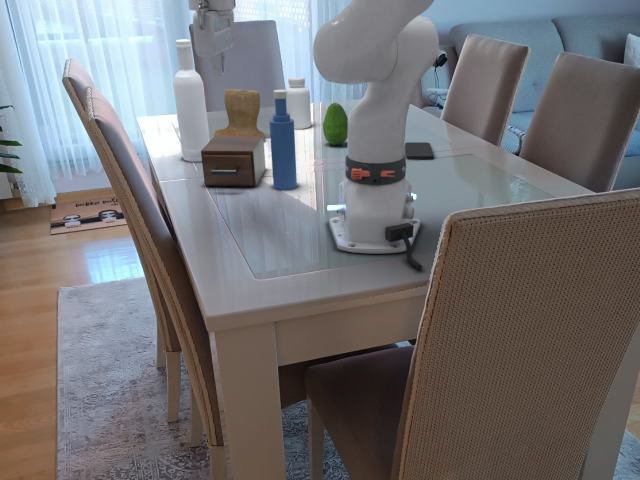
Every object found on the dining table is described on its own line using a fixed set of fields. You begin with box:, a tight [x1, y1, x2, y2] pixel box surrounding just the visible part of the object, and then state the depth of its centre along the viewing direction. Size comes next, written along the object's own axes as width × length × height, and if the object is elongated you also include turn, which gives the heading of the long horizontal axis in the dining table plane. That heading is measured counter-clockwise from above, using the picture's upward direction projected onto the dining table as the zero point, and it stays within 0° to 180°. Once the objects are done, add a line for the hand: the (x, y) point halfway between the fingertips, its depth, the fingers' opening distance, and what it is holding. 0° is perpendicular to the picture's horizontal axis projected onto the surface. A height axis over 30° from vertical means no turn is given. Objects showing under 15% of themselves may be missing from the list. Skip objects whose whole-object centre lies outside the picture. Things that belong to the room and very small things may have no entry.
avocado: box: [322, 102, 348, 146], centre depth 188 cm, size 8×8×12 cm
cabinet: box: [201, 135, 266, 188], centre depth 160 cm, size 15×13×9 cm
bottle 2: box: [268, 89, 298, 191], centre depth 150 cm, size 6×6×22 cm
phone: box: [404, 141, 434, 160], centre depth 183 cm, size 7×1×15 cm
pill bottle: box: [285, 76, 312, 130], centre depth 208 cm, size 8×8×15 cm
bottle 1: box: [172, 38, 211, 163], centre depth 171 cm, size 8×8×30 cm
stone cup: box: [213, 88, 266, 139], centre depth 192 cm, size 15×12×15 cm
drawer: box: [202, 154, 253, 185], centre depth 157 cm, size 18×11×7 cm, turn 177°
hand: (219, 75), depth 132 cm, fingers closed
